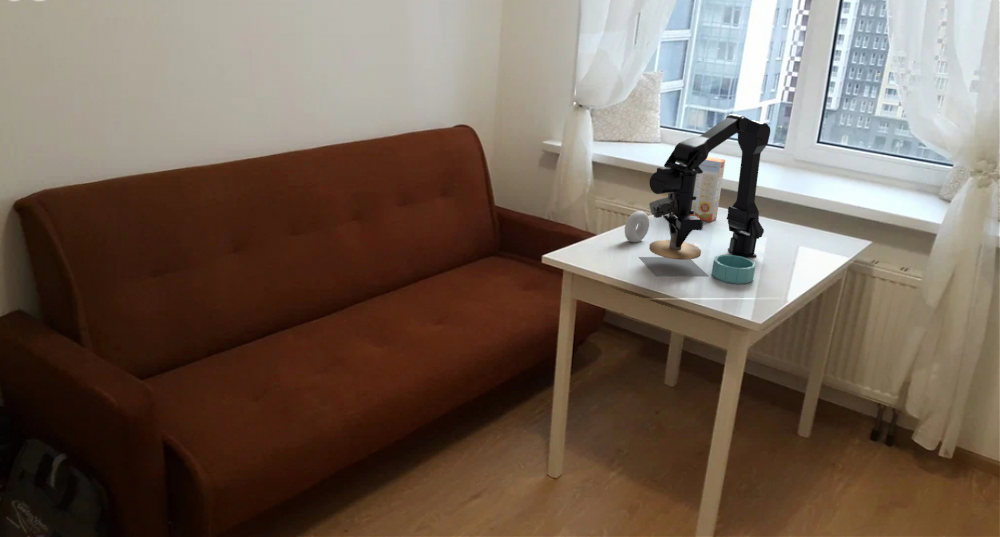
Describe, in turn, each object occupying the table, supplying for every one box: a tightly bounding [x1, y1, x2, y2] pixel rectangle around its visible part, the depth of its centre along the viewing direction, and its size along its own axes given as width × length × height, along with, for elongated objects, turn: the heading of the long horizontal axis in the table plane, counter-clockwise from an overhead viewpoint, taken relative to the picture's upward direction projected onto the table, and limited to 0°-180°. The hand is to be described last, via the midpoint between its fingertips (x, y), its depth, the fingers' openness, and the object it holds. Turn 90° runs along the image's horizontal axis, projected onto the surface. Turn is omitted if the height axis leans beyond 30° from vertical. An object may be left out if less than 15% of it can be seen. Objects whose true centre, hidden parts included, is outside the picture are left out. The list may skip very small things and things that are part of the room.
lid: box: [648, 233, 702, 260], centre depth 209 cm, size 14×14×5 cm
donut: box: [624, 210, 650, 243], centre depth 230 cm, size 10×4×10 cm, turn 133°
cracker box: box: [679, 156, 726, 223], centre depth 258 cm, size 14×6×21 cm, turn 58°
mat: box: [638, 256, 709, 277], centre depth 212 cm, size 15×15×1 cm
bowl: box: [711, 254, 757, 285], centre depth 206 cm, size 11×11×5 cm
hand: (675, 245), depth 209 cm, fingers closed on lid, 3 cm apart
